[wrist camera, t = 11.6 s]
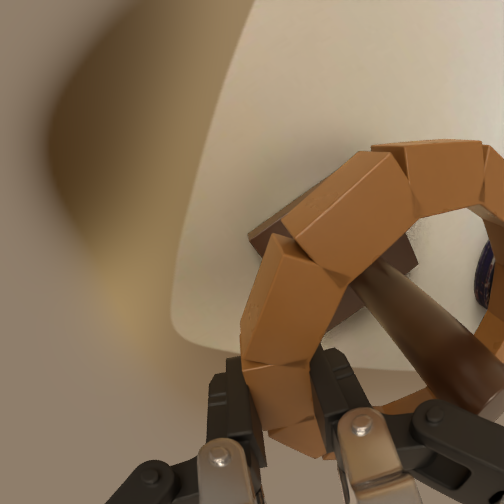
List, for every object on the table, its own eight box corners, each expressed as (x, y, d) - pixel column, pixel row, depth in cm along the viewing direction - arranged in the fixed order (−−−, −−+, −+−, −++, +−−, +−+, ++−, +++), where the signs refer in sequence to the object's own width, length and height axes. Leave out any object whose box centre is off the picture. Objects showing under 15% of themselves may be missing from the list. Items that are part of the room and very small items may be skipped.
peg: (247, 233, 19) (297, 460, 4) (357, 155, 18) (581, 200, 3) (316, 324, 22) (398, 507, 7) (408, 257, 21) (556, 376, 6)
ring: (161, 325, 10) (148, 361, 8) (447, 73, 7) (483, 65, 5) (355, 453, 14) (364, 478, 12) (525, 302, 11) (546, 316, 9)
